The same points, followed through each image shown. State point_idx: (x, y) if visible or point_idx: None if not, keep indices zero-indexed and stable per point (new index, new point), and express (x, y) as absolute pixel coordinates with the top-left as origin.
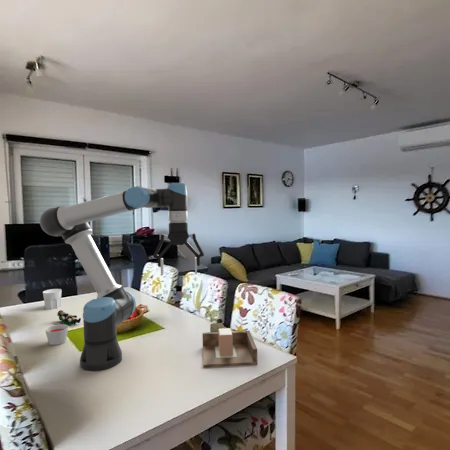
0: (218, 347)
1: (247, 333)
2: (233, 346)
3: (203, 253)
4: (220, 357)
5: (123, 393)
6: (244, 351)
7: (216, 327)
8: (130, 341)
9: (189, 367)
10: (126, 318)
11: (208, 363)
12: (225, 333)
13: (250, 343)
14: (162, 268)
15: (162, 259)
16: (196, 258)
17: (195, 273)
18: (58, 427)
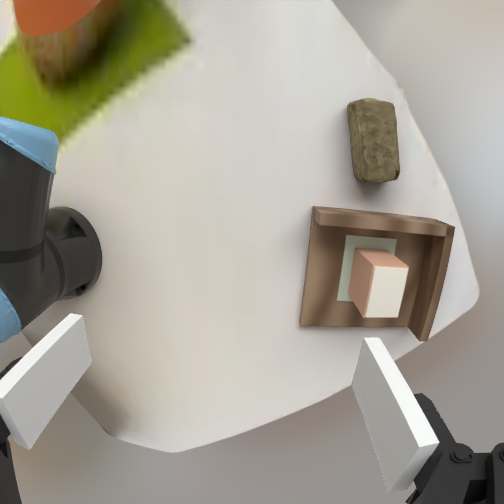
0: (355, 240)
1: (444, 246)
2: (394, 242)
3: (486, 499)
4: (347, 300)
5: (148, 378)
6: (410, 273)
7: (372, 147)
8: (99, 138)
9: (267, 317)
10: (50, 194)
11: (313, 321)
12: (383, 308)
13: (428, 304)
14: (66, 393)
15: (30, 445)
16: (404, 489)
17: (355, 389)
18: (99, 416)
